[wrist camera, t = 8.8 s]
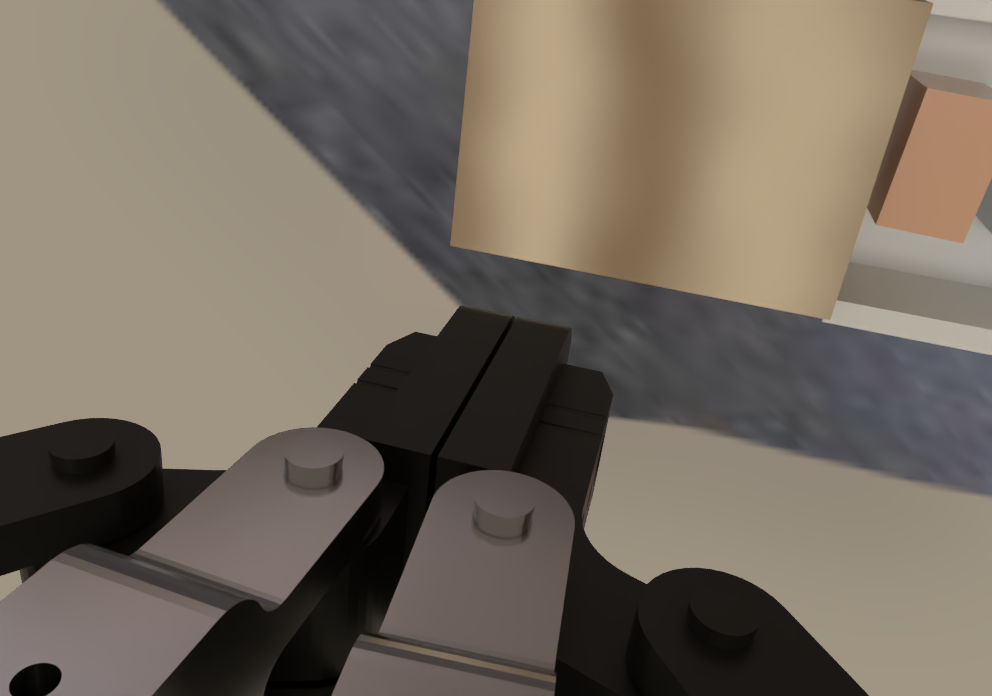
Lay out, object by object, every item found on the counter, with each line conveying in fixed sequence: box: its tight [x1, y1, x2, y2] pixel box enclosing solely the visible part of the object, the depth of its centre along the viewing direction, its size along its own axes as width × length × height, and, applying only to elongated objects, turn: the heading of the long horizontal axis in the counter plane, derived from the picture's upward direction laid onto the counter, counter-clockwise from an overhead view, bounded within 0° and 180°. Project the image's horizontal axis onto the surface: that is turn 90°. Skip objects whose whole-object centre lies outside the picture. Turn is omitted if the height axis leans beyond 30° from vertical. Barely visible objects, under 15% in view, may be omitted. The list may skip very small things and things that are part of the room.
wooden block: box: [450, 0, 933, 320], centre depth 27 cm, size 12×9×6 cm
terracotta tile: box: [867, 70, 992, 243], centre depth 26 cm, size 4×4×2 cm
